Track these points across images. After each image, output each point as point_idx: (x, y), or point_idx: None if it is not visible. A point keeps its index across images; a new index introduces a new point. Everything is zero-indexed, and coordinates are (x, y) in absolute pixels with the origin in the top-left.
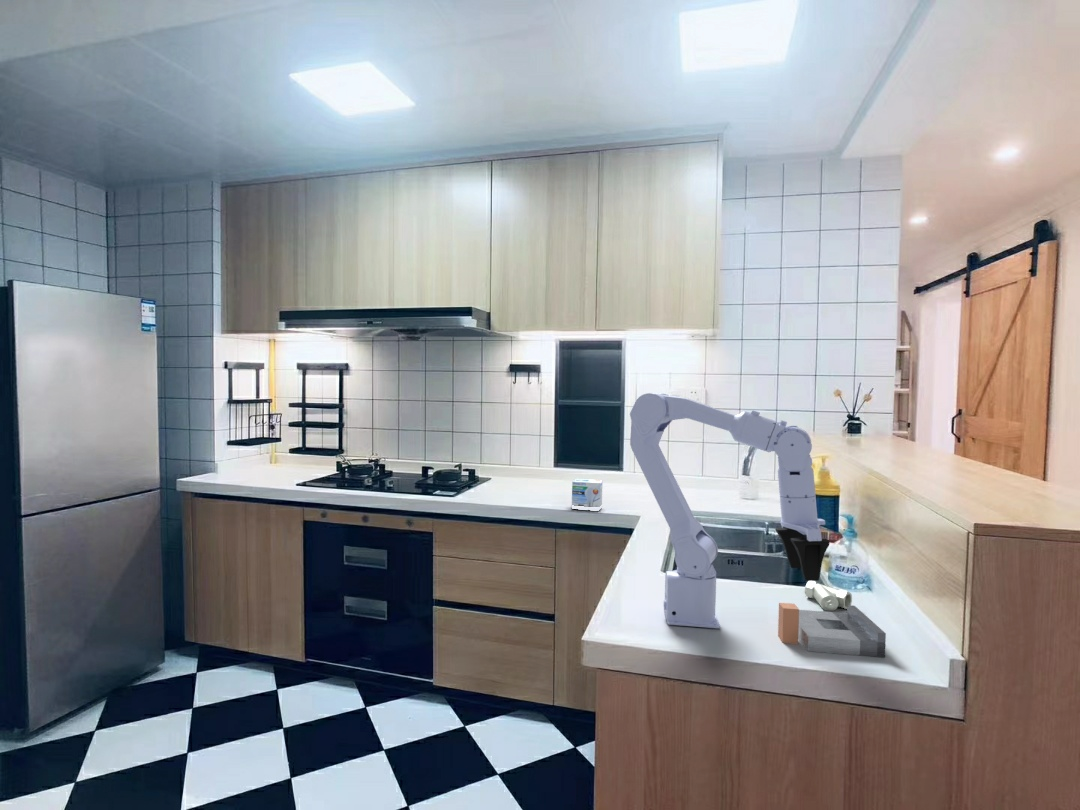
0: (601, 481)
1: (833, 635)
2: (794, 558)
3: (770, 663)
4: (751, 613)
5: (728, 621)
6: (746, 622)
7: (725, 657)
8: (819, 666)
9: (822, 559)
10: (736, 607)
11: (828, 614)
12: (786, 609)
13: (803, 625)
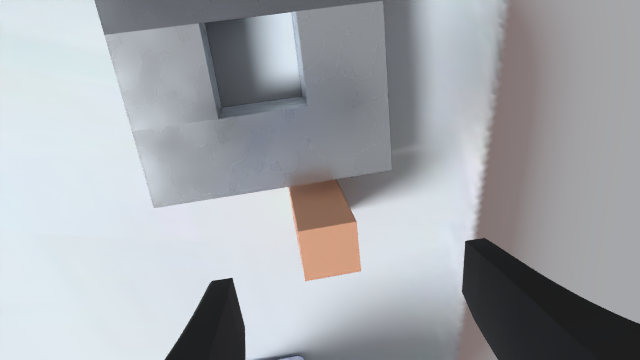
0: None
1: (364, 88)
2: (235, 357)
3: None
4: (132, 283)
5: None
6: None
7: (457, 335)
8: (465, 139)
9: (594, 304)
10: (98, 322)
11: (145, 58)
12: (359, 259)
13: (302, 171)
